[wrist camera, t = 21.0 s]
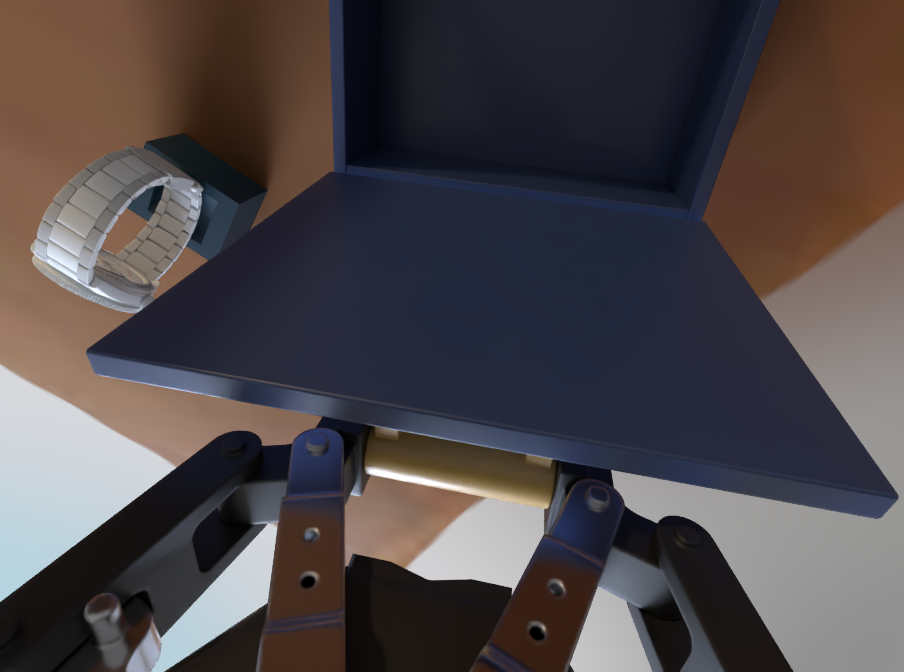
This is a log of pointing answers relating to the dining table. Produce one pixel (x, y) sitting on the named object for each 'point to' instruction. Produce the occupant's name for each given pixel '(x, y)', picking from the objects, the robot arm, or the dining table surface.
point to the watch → (156, 200)
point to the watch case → (546, 95)
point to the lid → (504, 346)
